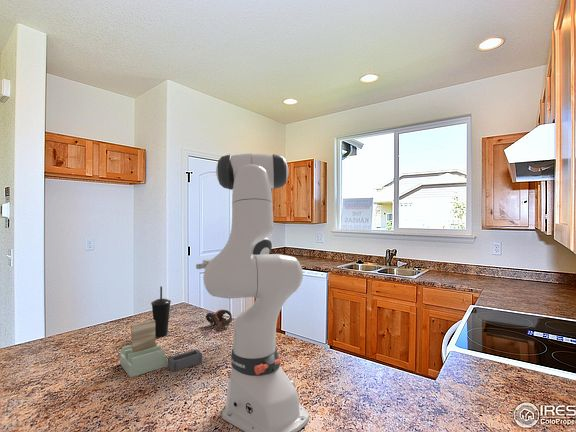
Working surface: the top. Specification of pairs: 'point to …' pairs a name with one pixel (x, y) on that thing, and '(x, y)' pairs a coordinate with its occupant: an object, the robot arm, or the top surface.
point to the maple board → (142, 336)
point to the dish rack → (142, 360)
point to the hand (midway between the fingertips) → (202, 268)
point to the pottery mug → (219, 318)
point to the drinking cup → (161, 315)
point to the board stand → (184, 360)
